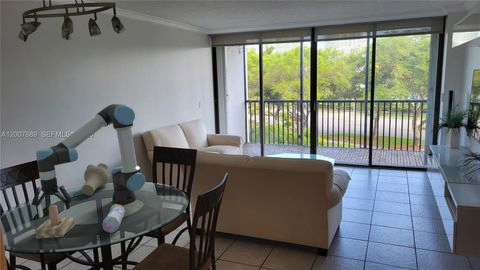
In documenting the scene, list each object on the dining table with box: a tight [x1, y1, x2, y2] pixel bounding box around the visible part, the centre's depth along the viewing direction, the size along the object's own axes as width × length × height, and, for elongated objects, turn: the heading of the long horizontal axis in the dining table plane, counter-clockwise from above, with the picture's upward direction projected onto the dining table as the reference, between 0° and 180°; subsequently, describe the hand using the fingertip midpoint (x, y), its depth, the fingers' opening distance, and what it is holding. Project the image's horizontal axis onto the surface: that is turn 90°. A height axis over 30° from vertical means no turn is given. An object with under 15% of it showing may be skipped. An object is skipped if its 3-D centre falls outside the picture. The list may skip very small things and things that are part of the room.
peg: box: [48, 204, 60, 226], centre depth 184 cm, size 4×4×14 cm
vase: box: [81, 163, 112, 196], centre depth 248 cm, size 22×22×28 cm
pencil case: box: [102, 204, 126, 234], centre depth 189 cm, size 21×9×10 cm, turn 10°
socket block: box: [34, 217, 76, 239], centre depth 185 cm, size 14×14×4 cm
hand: (54, 215), depth 184 cm, fingers open, 13 cm apart
